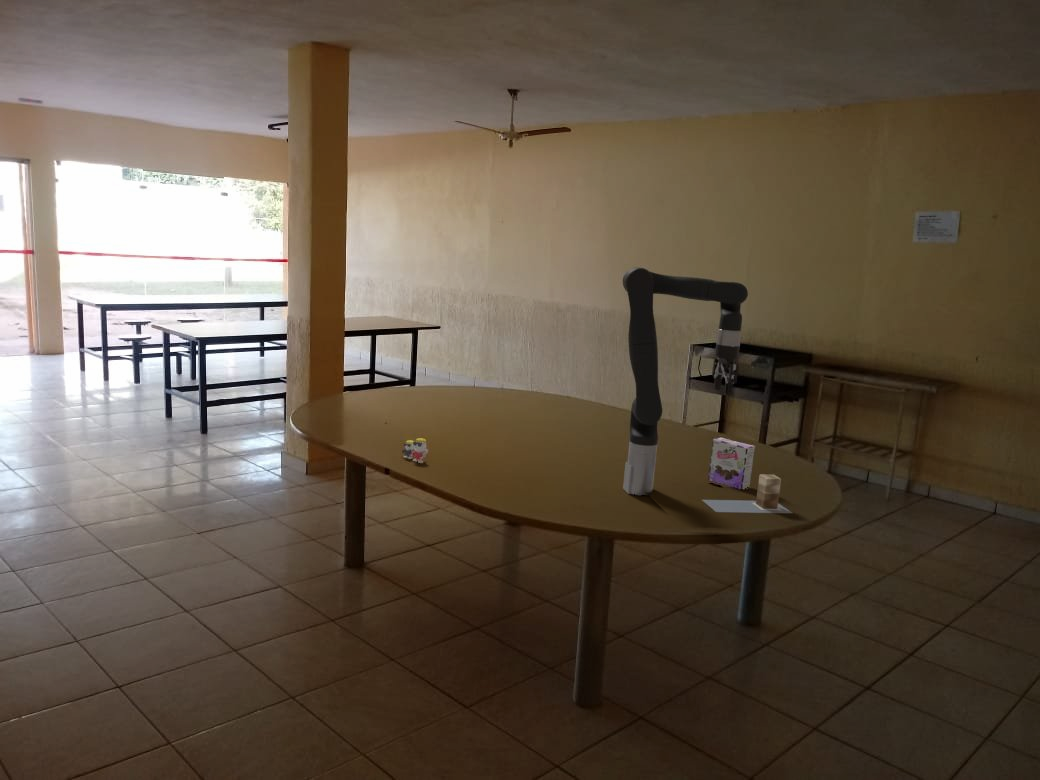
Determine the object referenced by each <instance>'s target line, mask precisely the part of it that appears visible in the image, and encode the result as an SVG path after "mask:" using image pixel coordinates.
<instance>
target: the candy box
mask: <svg viewBox="0 0 1040 780" xmlns="http://www.w3.org/2000/svg"><path fill="white" fill-rule="evenodd" d="M711 447H712V448H711V455H710V462H709V470H708V480H710V481H713V482H717V483H721V484H725V485H728V486H732V487H735V488H734V489H737V488H738V490H740V489H743V490H746V489H748V488H747V487H749V488H750V485H751V477H752V473H753V470H752V469H753V465H754V464H753V462H754V456H755V455H754V454H755V449H756V446H755V445H753V444H747V443H745V442H739V441H735V440H731V439H728V438H724V437H718V438H713V440H712V446H711ZM708 480H707V481H708ZM745 488H746V489H745Z"/></svg>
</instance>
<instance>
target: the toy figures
mask: <svg viewBox="0 0 1040 780" xmlns="http://www.w3.org/2000/svg"><path fill="white" fill-rule="evenodd" d="M403 446H404V449H403V450H401V452H402V454H404V456H403V458H405V459H408V460H412V462H414V461H415V463H418V464H419V463H420V464H423V463H424V458H426V456H427V455H428V452H429V449H428V448H427V440H426V439H425V438H421V437H418V438H416V439H415V440H413V439H412V440H411V439H409V440H408V439H407V440H406V441H405V442H404V443H403ZM417 461H418V462H417Z"/></svg>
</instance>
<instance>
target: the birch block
mask: <svg viewBox="0 0 1040 780" xmlns="http://www.w3.org/2000/svg"><path fill="white" fill-rule="evenodd" d="M781 485H782V478H780V477H779V476H777V475H775V474H770V473H769V474H767V473H766V474H764V473H762V474H759V476H758V485H757V490H758V489H759V490H760V491H761V492H763V493H764V494H779V495H780V491H781Z"/></svg>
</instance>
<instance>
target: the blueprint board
mask: <svg viewBox="0 0 1040 780" xmlns="http://www.w3.org/2000/svg"><path fill="white" fill-rule="evenodd" d="M701 501H702V502H703V503H705V504H706V505H707V506H709V507H710V508H711V509H712V510H713V511H714V512H715V513H741V514H742V513H746V514H747V513H749V514H750V513H752V514H754V513H755V514H759V513H760V514H762V513H763V514H793V512H792V511H790V510H789V509H787V508H786V507H784V506H783V505H782V504H780V503H779V502H778V507H777V509H763V508H761V507H760V506H758V505H757V504H756V500H741V499H740V500H739V499H737V500H736V499H733V500H732V499H701Z"/></svg>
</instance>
